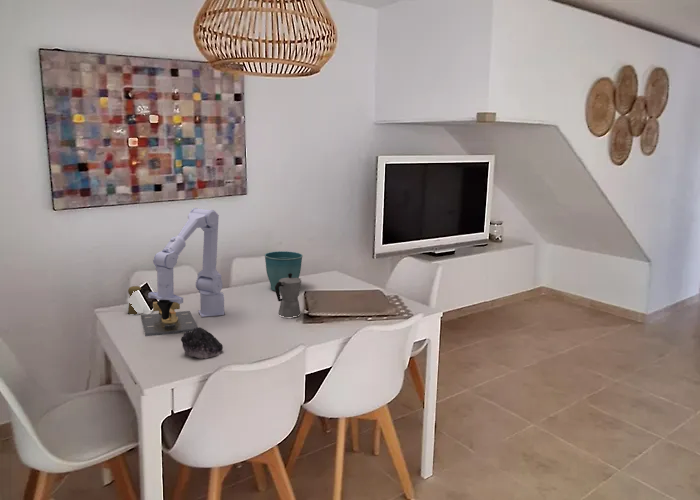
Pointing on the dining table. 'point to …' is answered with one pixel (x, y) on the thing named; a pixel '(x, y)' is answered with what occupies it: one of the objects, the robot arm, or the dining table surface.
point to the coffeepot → (288, 296)
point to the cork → (130, 291)
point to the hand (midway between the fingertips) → (166, 318)
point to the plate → (155, 326)
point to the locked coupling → (173, 307)
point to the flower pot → (282, 266)
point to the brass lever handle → (171, 318)
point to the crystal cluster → (201, 344)
